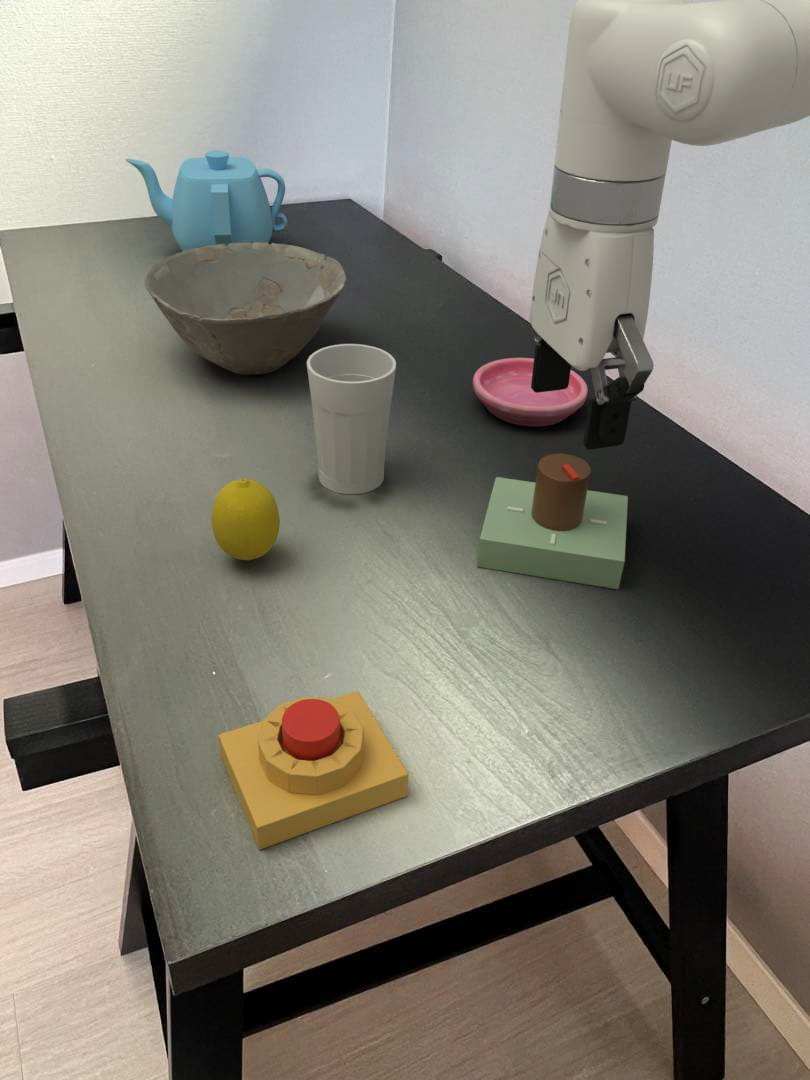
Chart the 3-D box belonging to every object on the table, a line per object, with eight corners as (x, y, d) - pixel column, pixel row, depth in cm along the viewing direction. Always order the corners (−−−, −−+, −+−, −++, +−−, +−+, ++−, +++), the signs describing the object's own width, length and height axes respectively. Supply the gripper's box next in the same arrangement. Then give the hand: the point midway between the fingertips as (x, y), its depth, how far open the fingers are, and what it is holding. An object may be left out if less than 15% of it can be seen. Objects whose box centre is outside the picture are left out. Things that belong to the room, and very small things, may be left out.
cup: (404, 490, 90) (409, 375, 83) (324, 505, 87) (322, 388, 80) (375, 449, 96) (377, 339, 89) (299, 462, 93) (295, 350, 86)
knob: (523, 506, 83) (529, 454, 80) (568, 498, 84) (576, 447, 81) (544, 534, 80) (552, 481, 77) (591, 526, 81) (600, 473, 78)
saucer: (548, 374, 111) (552, 349, 109) (605, 424, 102) (610, 397, 100) (452, 390, 107) (454, 364, 105) (503, 443, 98) (506, 416, 96)
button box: (358, 712, 67) (358, 671, 64) (407, 796, 61) (410, 754, 59) (220, 756, 63) (215, 715, 61) (259, 850, 57) (255, 808, 55)
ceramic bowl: (138, 402, 102) (125, 314, 96) (173, 316, 120) (164, 238, 115) (344, 405, 103) (344, 319, 97) (347, 320, 121) (347, 243, 116)
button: (327, 711, 62) (326, 692, 61) (348, 749, 59) (348, 730, 58) (274, 727, 60) (273, 708, 59) (294, 768, 58) (293, 748, 57)
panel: (622, 523, 87) (628, 494, 85) (618, 589, 79) (625, 559, 77) (492, 503, 89) (496, 475, 87) (476, 566, 81) (479, 537, 79)
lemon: (292, 567, 80) (288, 488, 75) (230, 586, 77) (222, 506, 73) (266, 533, 83) (261, 455, 79) (206, 550, 81) (197, 471, 76)
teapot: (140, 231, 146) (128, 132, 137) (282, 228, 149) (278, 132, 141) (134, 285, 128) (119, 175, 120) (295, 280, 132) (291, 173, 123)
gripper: (507, 167, 71) (491, 375, 81) (615, 238, 58) (580, 477, 68) (597, 162, 73) (570, 366, 83) (722, 229, 60) (672, 463, 70)
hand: (574, 416), depth 75 cm, fingers open, 9 cm apart
